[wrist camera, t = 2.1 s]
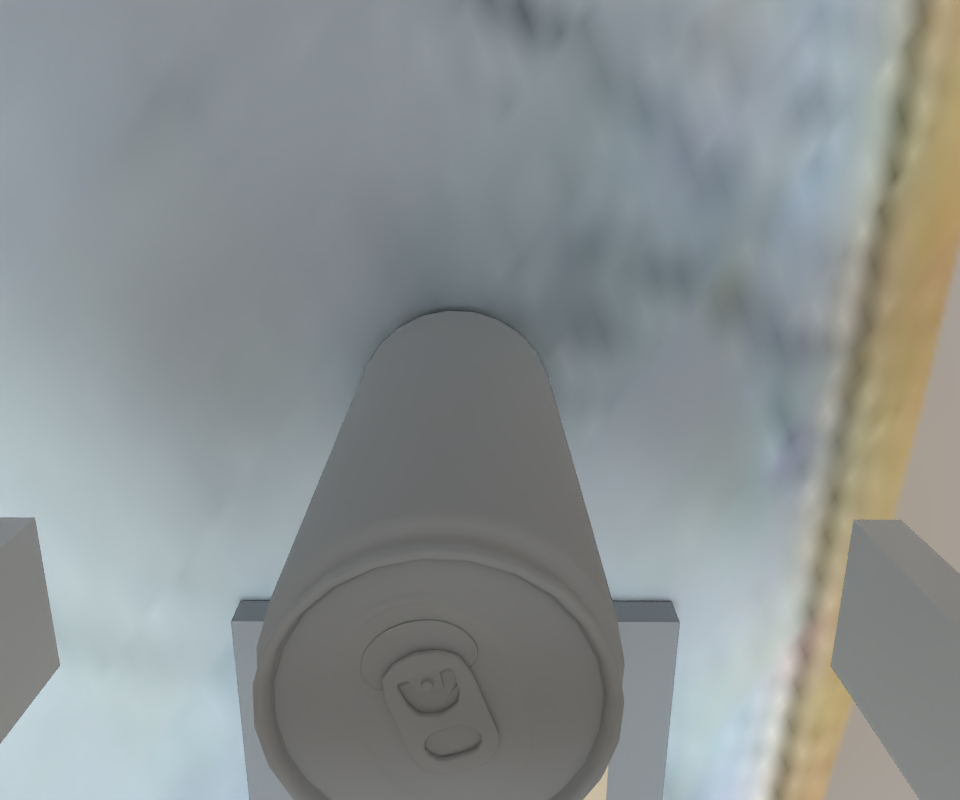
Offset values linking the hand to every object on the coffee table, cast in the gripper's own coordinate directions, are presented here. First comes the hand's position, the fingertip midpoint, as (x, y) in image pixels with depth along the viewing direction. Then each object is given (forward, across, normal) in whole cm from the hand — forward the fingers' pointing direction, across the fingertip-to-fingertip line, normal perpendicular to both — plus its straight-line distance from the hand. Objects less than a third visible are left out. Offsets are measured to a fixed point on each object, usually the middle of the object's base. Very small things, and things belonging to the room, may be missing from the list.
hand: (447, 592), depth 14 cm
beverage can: (+9, 0, +1) cm, 9 cm away
